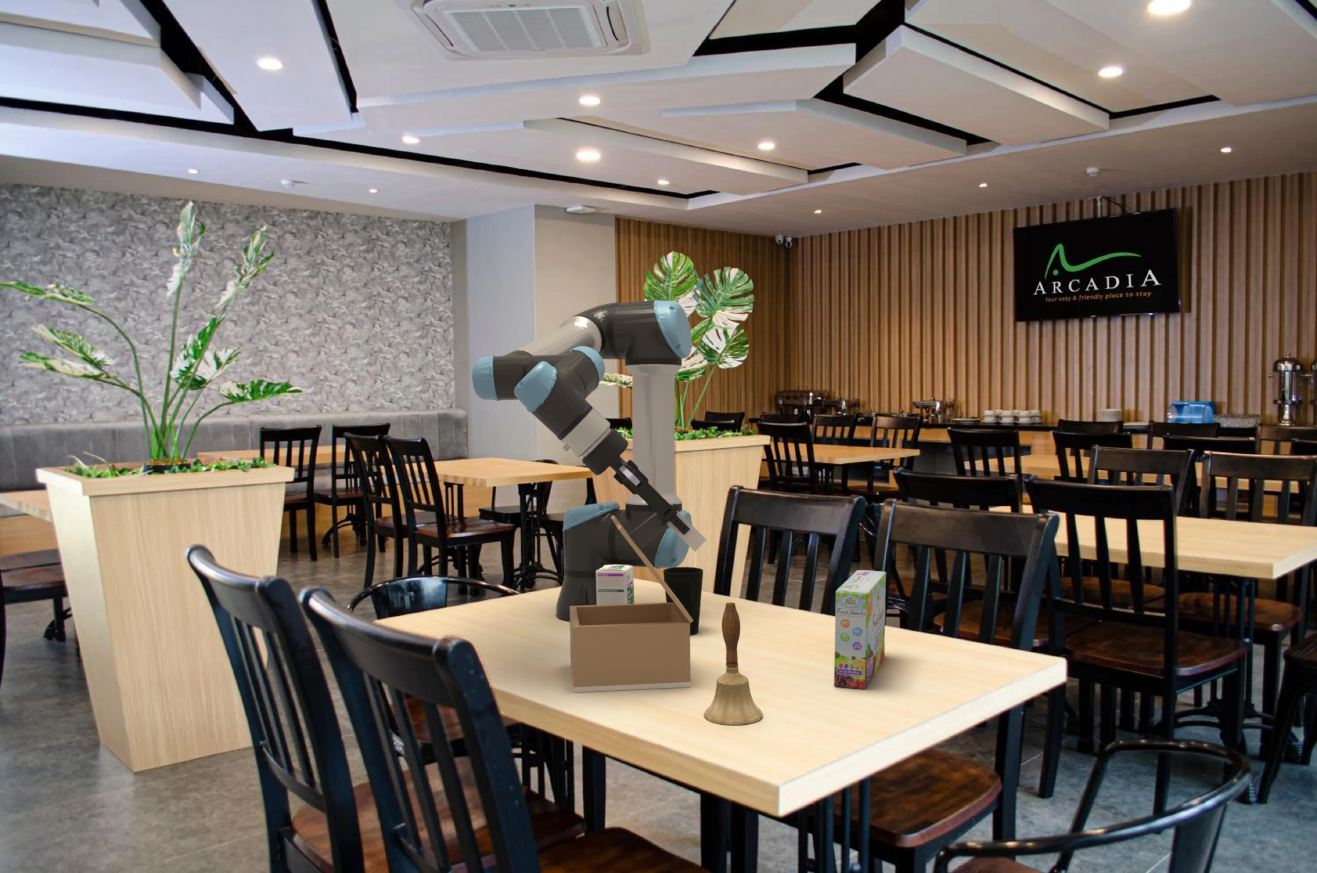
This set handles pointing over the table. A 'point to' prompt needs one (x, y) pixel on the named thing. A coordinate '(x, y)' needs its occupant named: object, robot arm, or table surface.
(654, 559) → the robot arm
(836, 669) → the snack box
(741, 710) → the hand bell
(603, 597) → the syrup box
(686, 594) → the cup
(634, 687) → the carton
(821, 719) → the table surface
